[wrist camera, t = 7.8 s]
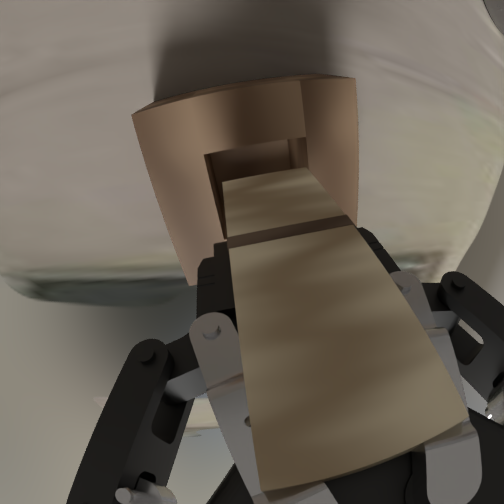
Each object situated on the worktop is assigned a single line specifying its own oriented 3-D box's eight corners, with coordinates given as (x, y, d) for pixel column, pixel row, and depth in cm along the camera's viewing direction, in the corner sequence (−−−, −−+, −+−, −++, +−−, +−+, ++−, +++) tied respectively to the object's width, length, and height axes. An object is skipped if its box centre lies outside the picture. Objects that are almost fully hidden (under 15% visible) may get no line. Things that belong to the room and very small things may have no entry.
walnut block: (318, 73, 17) (355, 78, 13) (327, 212, 25) (354, 252, 20) (153, 101, 17) (131, 114, 12) (192, 238, 25) (189, 285, 20)
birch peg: (306, 166, 13) (470, 414, 3) (310, 236, 15) (408, 458, 6) (221, 181, 13) (258, 491, 3) (236, 251, 15) (276, 497, 6)
